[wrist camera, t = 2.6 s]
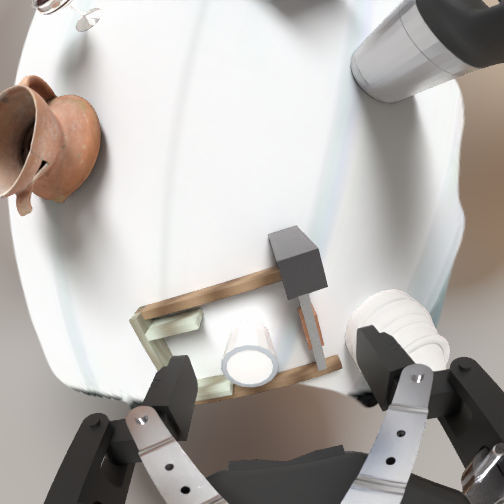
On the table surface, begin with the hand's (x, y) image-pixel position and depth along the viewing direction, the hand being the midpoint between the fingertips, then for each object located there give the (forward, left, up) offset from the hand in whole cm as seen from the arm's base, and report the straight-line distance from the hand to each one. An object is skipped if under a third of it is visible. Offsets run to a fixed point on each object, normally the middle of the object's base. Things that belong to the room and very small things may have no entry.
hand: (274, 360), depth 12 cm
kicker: (-3, +9, -22) cm, 24 cm away
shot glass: (+5, +12, -23) cm, 27 cm away
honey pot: (-14, +18, -23) cm, 33 cm away
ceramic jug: (+21, -23, -23) cm, 38 cm away
